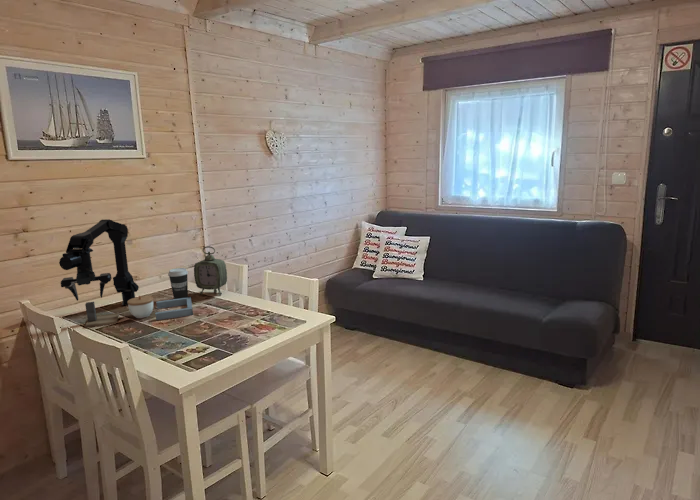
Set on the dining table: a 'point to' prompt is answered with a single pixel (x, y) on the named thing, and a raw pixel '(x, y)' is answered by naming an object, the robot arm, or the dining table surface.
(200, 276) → the tabletop clock
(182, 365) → the dining table surface
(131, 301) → the lidded jar
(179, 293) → the coffee cup
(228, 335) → the dining table surface
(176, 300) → the slate frame
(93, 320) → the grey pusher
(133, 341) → the dining table surface
